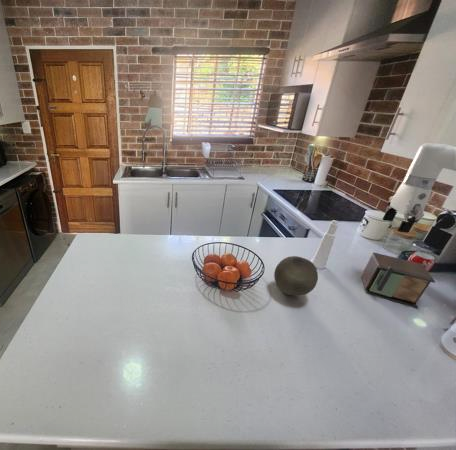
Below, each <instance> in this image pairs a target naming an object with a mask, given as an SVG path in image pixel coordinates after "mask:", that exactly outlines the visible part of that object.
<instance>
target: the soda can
mask: <svg viewBox="0 0 456 450" xmlns="http://www.w3.org/2000/svg"><path fill="white" fill-rule="evenodd" d="M435 259H436V258H435V257H434V255H432V254H430V253H427V252H424V251H414V253H412V254H410V256H409V257H408V259H406V260H407V261H412V262H416V263H420V264H423V265H424V267H425V268H426V270H427V271H428V272H429V273H430V271H431V270H432V268H433V267H434V265H435Z"/></svg>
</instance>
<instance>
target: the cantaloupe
mask: <svg viewBox="0 0 456 450" xmlns="http://www.w3.org/2000/svg"><path fill="white" fill-rule="evenodd" d="M311 261H312V260H310V259H308V258H304V257H301V256H298V255H297V256H296V255H292V256H287V257H285V258H283V259H282V260H280V261H279V262H278V264H277V265H276V267H275V268H274V272H273V273H274V274H273V277H274V282H275V285H276V287H277V288H278V289H279V290H280V291H281V292H282V293H284V294H285V295H289V296H297V297H301V296H306V295H308V294H309V293H311V292H312V291H313V290H314V289H315V288H316V285H317V284H318V279H319V275H318V270H317V269H318V268H316V267H315V266H314V264H313V263H312V262H311Z"/></svg>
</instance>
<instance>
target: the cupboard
mask: <svg viewBox="0 0 456 450" xmlns="http://www.w3.org/2000/svg"><path fill="white" fill-rule="evenodd" d="M407 260H408V259H403V258H399V257H394V256H392V255H391V256H390V255H386V254H383V253H378V252H373V253H372V254H371V256H370V257H369V260H368V262H367V263H366V266H365V268H364V270H363V271H362V273H361V275H360V277H361V280H362V285H363V287H364V291H365V293H366V294H368V295H371V296H373V297H377V298H381V299H385V300H388V301H391V302H395V303H398V304H402V305H404V306H408V307H411V308H414V309H419V306H418V302H419V300H420V299H421V297H422V295H423V294H424V293H425V291H426V290H427V288H428V287H429V286H430V284H431V283H436V281H435V279H434V278H433V276H432V275H431V274H430V271H429V272H428V271H427V270H426V268H425V267H424V265H423V264H420V263H416V262H412V261H407ZM389 266H390V267H393V268H394V270H393V273H397V274H401V275H404V277H403V279H402V281H401V282H400V284H399V285H398V287H397V289H396V290H395V292H394V294H393V295H392V297H388V296H385V295H381V294H378V293H375V292H371V291H370V288H371V287H372V285H373V283H374V281H375V279H376V278H377V276H378V274H379V272H380V270H381V269H382V270H387V269H388V267H389Z"/></svg>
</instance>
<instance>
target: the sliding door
mask: <svg viewBox="0 0 456 450" xmlns="http://www.w3.org/2000/svg"><path fill="white" fill-rule="evenodd" d="M393 270H394V268H393V267H390V266H389V267H388V269H387V270H382V269H381V270H380V272H379V274H378V276H377V278H376V279H375V281H374V283H373V285H372V287H371V288H370V291H371V292H375V293H378V294H381V295H385V296H388V297H392V295H393V294H394V292H395V290H396V289H397V287H398V285H399V284H400V282H401V281H402V279H403V277H404V275H401V274H397V273H393Z"/></svg>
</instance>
